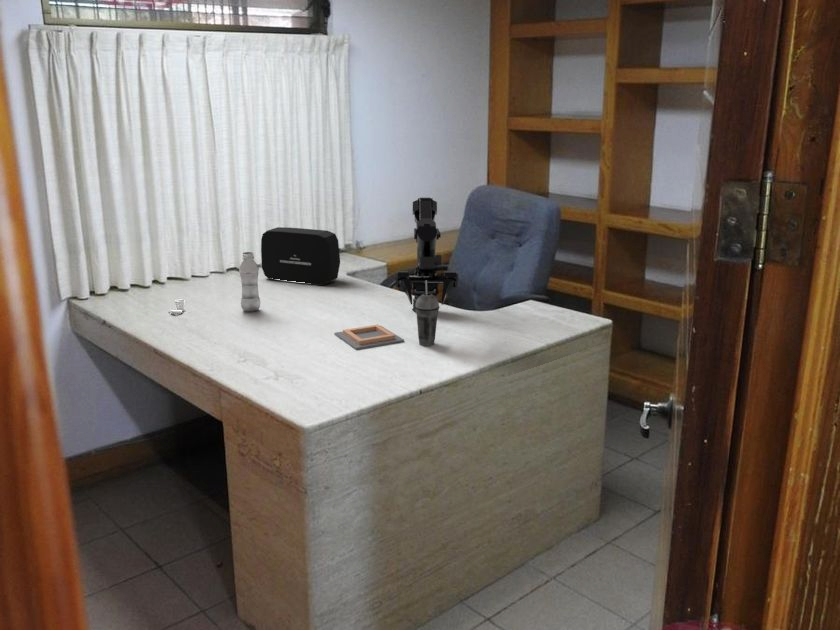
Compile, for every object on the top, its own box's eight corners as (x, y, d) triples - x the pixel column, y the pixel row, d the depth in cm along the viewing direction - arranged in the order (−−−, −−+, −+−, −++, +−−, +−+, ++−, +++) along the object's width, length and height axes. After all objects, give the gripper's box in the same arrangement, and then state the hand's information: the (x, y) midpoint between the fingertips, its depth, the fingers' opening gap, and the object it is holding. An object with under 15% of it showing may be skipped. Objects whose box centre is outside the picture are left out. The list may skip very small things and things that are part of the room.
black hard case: (261, 279, 305) (259, 229, 299) (277, 272, 316) (275, 224, 310) (330, 287, 295) (329, 235, 289) (344, 280, 306) (343, 229, 300)
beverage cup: (442, 341, 235) (443, 277, 229) (434, 349, 228) (435, 283, 222) (419, 338, 237) (419, 275, 231) (411, 346, 231) (411, 281, 225)
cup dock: (380, 327, 248) (380, 321, 247) (404, 341, 235) (404, 336, 234) (334, 334, 240) (334, 329, 240) (355, 349, 227) (355, 344, 227)
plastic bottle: (237, 312, 263) (233, 254, 257) (248, 307, 269) (245, 250, 263) (253, 314, 260) (250, 256, 254) (264, 309, 266) (261, 252, 260)
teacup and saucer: (177, 317, 258) (176, 305, 257) (161, 313, 262) (160, 301, 261) (198, 311, 265) (197, 299, 264) (182, 307, 269) (181, 296, 268)
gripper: (395, 245, 232) (395, 290, 225) (458, 245, 233) (459, 290, 225) (396, 265, 242) (395, 308, 235) (456, 265, 242) (457, 309, 235)
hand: (426, 303), depth 232 cm, fingers open, 9 cm apart
